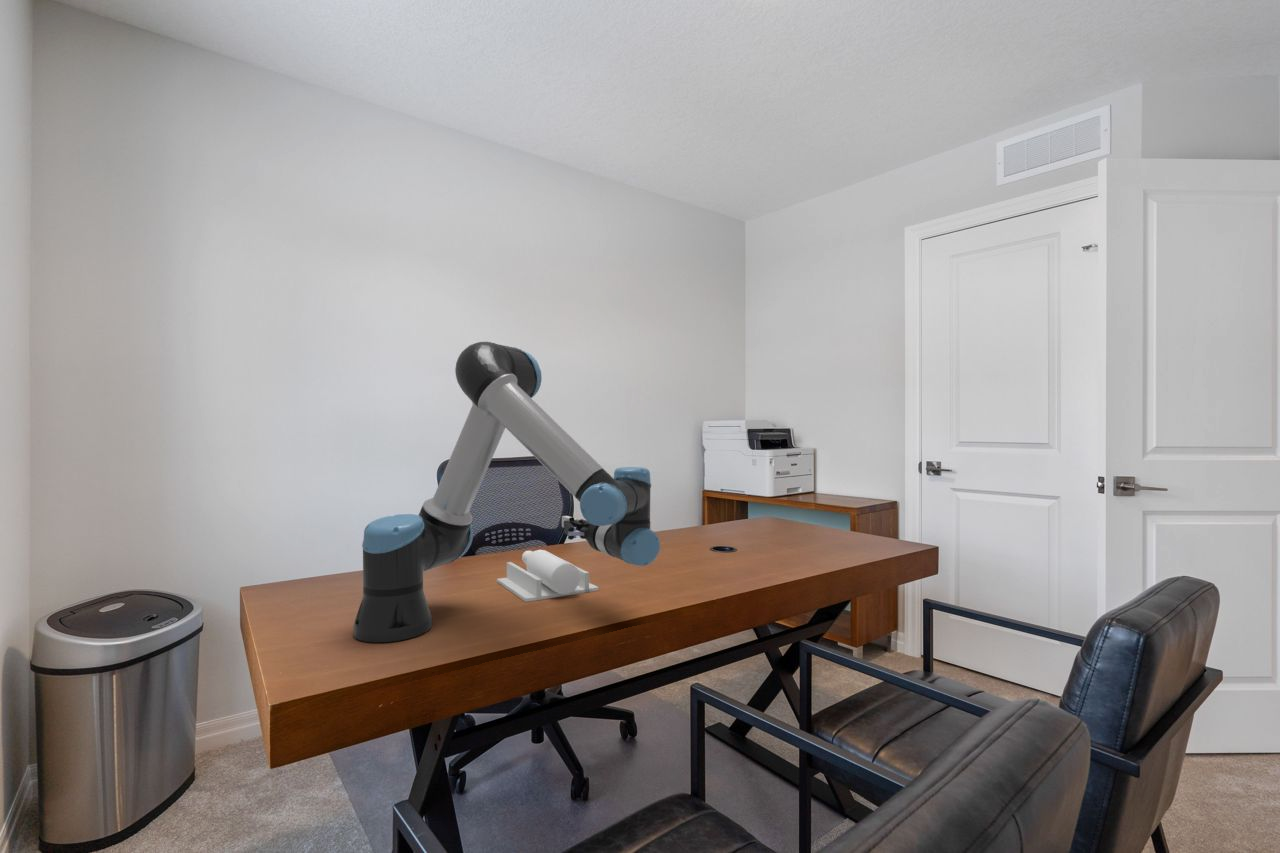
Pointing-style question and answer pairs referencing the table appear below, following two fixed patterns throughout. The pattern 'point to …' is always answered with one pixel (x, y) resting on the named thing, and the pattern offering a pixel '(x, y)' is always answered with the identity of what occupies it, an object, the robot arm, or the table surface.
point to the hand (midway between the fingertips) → (564, 521)
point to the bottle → (552, 571)
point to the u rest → (538, 584)
